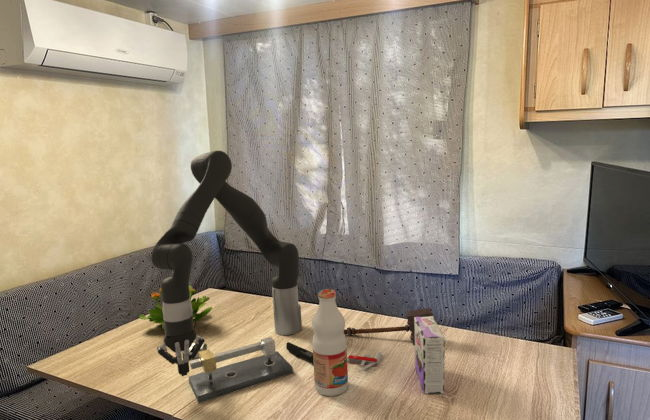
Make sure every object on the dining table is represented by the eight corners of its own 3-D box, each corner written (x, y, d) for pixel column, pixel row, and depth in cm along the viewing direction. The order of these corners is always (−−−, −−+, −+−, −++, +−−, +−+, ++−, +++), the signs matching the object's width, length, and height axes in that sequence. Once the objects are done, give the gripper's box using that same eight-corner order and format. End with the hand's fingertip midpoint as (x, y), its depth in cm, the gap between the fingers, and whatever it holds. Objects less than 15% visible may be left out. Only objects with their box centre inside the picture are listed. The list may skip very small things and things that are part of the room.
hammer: (437, 343, 142) (431, 314, 141) (343, 352, 152) (336, 325, 151) (438, 334, 148) (432, 306, 147) (347, 344, 158) (341, 318, 158)
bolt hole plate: (277, 356, 141) (277, 350, 141) (292, 373, 130) (292, 366, 130) (189, 382, 128) (188, 376, 128) (198, 403, 117) (197, 395, 117)
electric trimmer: (292, 348, 147) (292, 339, 147) (323, 363, 136) (323, 353, 136) (283, 352, 145) (283, 343, 144) (314, 368, 133) (314, 358, 133)
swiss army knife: (335, 372, 130) (334, 366, 130) (348, 350, 143) (348, 345, 143) (372, 377, 126) (372, 371, 126) (382, 355, 139) (382, 349, 139)
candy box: (414, 368, 130) (413, 315, 128) (434, 367, 130) (433, 315, 127) (423, 394, 117) (422, 336, 114) (445, 394, 116) (445, 336, 114)
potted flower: (191, 309, 186) (187, 269, 184) (229, 320, 173) (225, 277, 170) (137, 331, 166) (132, 287, 164) (175, 345, 153) (170, 297, 150)
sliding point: (211, 368, 130) (209, 346, 129) (217, 379, 124) (215, 356, 123) (200, 371, 129) (198, 349, 128) (206, 383, 122) (204, 360, 121)
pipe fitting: (198, 362, 141) (207, 351, 148) (196, 351, 140) (206, 340, 147) (176, 360, 143) (186, 349, 149) (174, 350, 142) (184, 339, 148)
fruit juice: (320, 376, 128) (316, 285, 124) (351, 380, 125) (348, 287, 121) (310, 394, 119) (304, 296, 115) (343, 399, 116) (338, 299, 112)
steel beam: (269, 354, 138) (267, 333, 137) (276, 362, 132) (274, 340, 131) (191, 376, 126) (189, 354, 125) (195, 386, 121) (193, 362, 120)
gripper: (199, 305, 125) (204, 362, 127) (150, 316, 118) (157, 375, 121) (205, 314, 118) (211, 373, 121) (154, 325, 112) (161, 388, 114)
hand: (184, 374), depth 121 cm, fingers closed
